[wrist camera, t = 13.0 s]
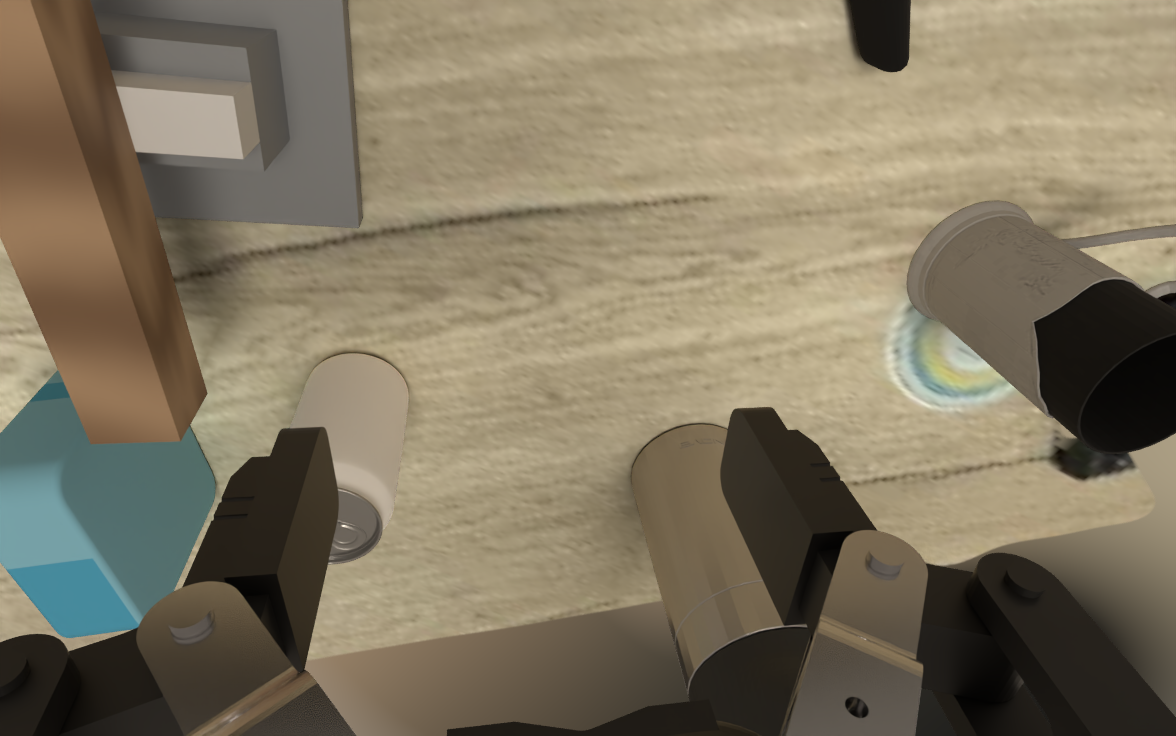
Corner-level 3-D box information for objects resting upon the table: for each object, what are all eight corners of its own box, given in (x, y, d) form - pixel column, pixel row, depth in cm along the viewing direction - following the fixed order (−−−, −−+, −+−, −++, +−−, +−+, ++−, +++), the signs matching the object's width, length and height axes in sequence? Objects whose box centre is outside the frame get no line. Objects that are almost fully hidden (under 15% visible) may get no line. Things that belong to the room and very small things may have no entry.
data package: (71, 351, 40) (-60, 494, 30) (151, 343, 41) (46, 481, 31) (154, 496, 47) (68, 651, 37) (221, 488, 47) (154, 639, 38)
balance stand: (362, 217, 38) (335, 292, 31) (-1, 197, 35) (-129, 274, 28) (341, -79, 31) (298, -75, 23) (-125, -139, 27) (-348, -157, 20)
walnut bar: (-176, -402, 18) (-306, -463, 15) (-24, -382, 18) (-119, -437, 16) (126, 395, 32) (90, 444, 29) (207, 393, 33) (180, 441, 30)
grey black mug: (888, 254, 44) (1047, 387, 32) (1104, 118, 41) (1374, 208, 29) (929, 342, 49) (1083, 489, 36) (1126, 226, 45) (1368, 344, 33)
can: (359, 444, 47) (328, 586, 37) (284, 386, 44) (228, 525, 34) (430, 395, 45) (417, 529, 36) (358, 331, 42) (322, 460, 32)
